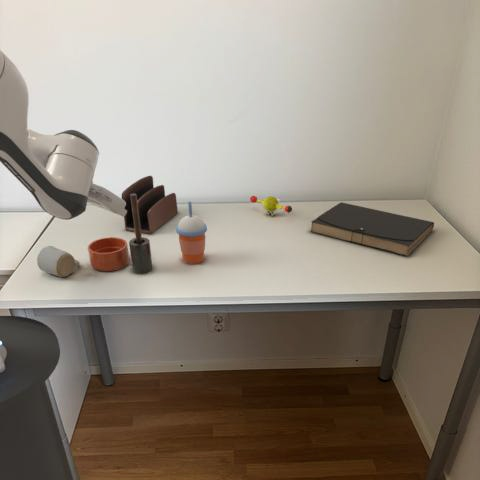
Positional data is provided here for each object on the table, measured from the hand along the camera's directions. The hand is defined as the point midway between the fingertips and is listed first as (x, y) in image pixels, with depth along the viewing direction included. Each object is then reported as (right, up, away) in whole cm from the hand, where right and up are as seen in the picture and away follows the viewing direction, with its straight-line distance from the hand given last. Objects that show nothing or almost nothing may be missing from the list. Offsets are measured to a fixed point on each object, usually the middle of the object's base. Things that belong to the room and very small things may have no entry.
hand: (112, 209), depth 133 cm
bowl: (-6, -12, +20) cm, 24 cm away
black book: (+77, +1, +38) cm, 85 cm away
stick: (+5, -14, +16) cm, 22 cm away
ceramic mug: (-19, -15, +16) cm, 29 cm away
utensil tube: (+5, -14, +17) cm, 22 cm away
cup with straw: (+19, -11, +22) cm, 31 cm away
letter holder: (+2, +5, +47) cm, 47 cm away
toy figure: (+44, +9, +51) cm, 68 cm away
